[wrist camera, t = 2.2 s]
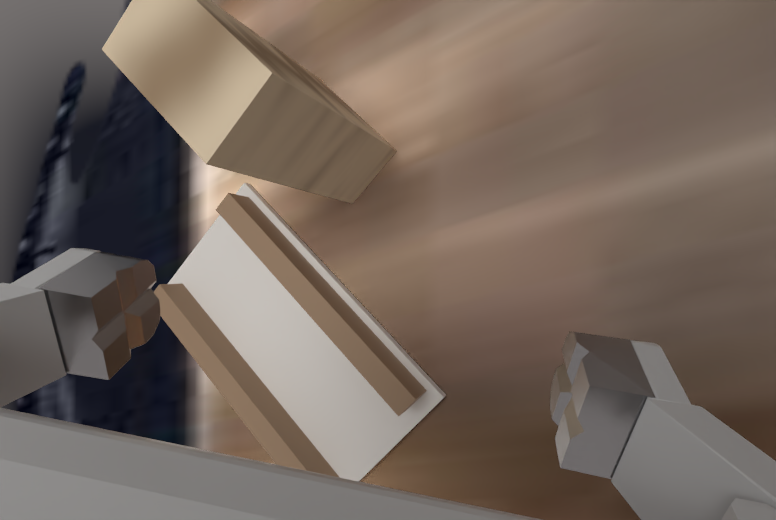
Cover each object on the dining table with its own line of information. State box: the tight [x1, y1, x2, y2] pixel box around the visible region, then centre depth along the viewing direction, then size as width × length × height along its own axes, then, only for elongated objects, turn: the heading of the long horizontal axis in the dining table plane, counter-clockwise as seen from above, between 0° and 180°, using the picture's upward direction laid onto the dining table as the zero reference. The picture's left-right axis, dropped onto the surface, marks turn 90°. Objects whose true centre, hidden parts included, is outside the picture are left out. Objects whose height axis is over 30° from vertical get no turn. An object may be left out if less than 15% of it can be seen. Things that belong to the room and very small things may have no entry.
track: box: [154, 183, 446, 481], centre depth 34 cm, size 20×11×3 cm, turn 46°
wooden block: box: [102, 0, 397, 204], centre depth 27 cm, size 8×4×14 cm, turn 46°
